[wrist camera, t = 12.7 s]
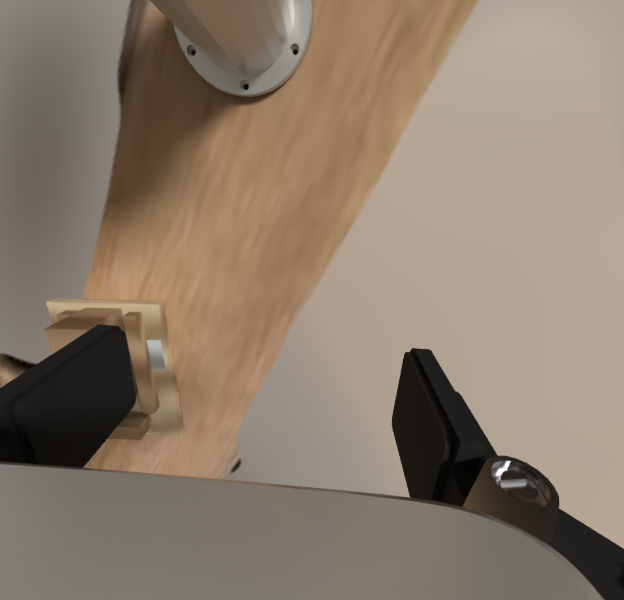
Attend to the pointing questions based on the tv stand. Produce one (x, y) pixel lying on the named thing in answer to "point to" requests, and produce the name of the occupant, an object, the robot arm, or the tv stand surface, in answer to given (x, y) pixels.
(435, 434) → the robot arm
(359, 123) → the tv stand surface
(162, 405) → the jig
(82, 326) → the brown wooden block
